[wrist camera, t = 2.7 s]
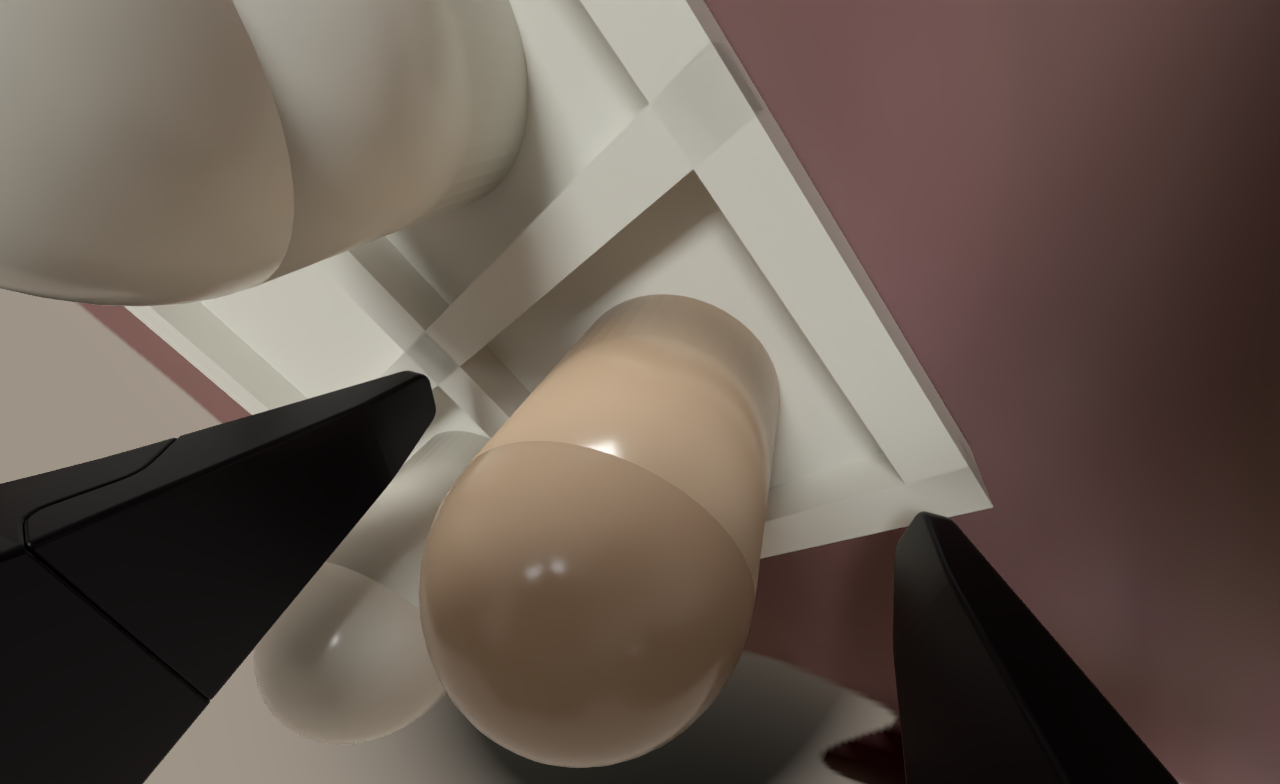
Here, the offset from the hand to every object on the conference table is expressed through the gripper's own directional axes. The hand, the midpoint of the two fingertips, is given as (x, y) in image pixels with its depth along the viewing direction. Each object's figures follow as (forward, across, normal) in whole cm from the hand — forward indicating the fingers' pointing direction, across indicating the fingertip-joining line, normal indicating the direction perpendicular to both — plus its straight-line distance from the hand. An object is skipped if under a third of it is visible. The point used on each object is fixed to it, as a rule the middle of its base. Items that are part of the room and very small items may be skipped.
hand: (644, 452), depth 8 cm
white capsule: (+2, +5, +5) cm, 8 cm away
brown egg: (+2, 0, 0) cm, 2 cm away
